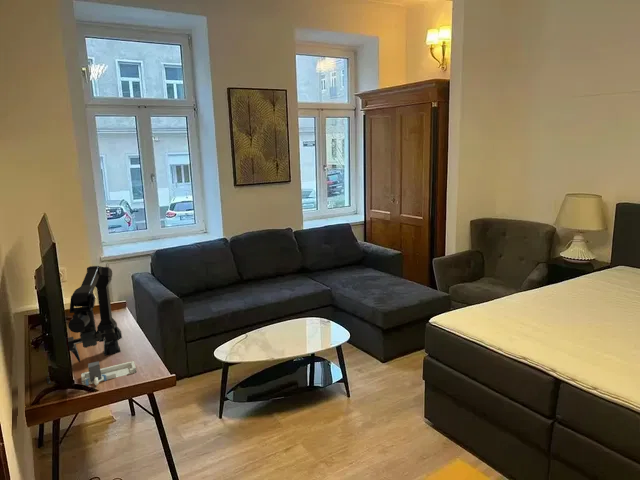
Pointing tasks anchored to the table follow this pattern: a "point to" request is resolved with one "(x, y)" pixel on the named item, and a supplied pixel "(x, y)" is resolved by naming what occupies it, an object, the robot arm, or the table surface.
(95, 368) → the cord plug
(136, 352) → the table surface
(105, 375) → the long open trough
